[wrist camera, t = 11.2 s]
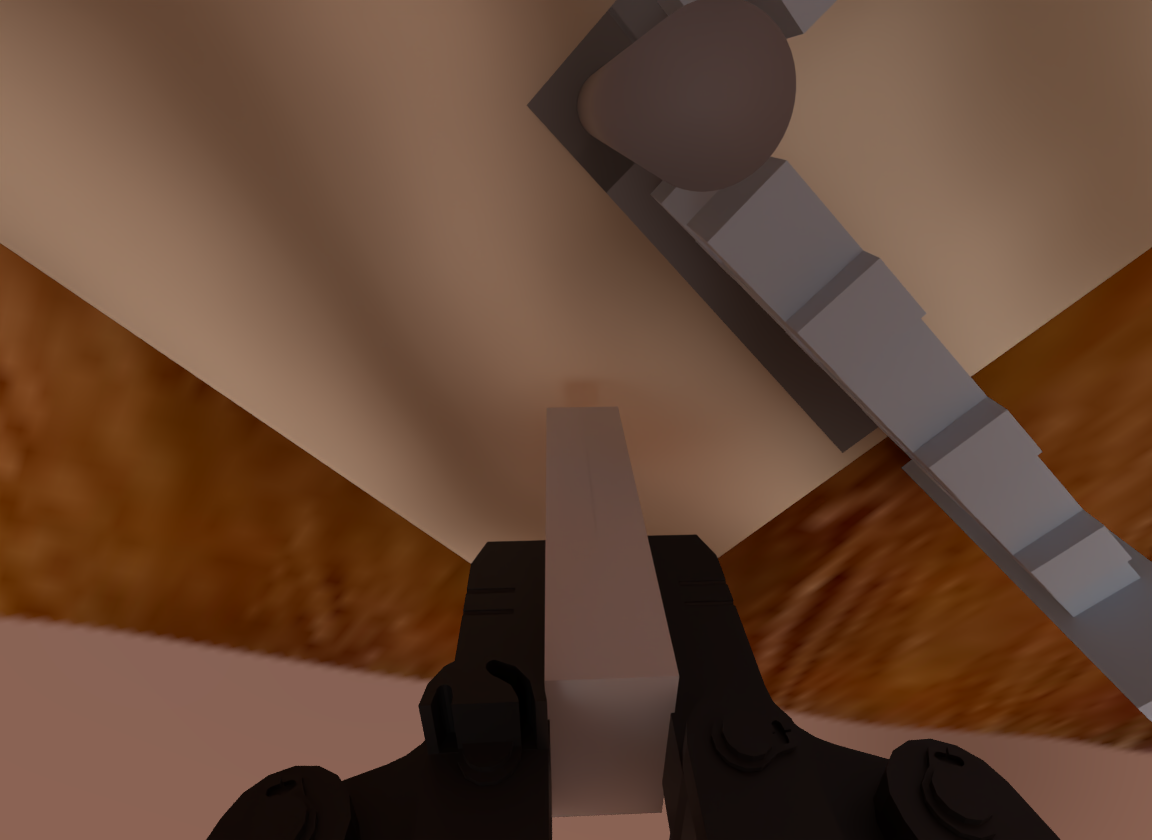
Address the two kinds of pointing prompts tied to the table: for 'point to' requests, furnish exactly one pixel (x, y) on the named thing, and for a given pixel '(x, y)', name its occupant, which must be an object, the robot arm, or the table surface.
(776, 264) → the gray castle wall
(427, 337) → the board
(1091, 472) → the table surface
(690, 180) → the fixed fence panel
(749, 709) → the robot arm
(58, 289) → the table surface
